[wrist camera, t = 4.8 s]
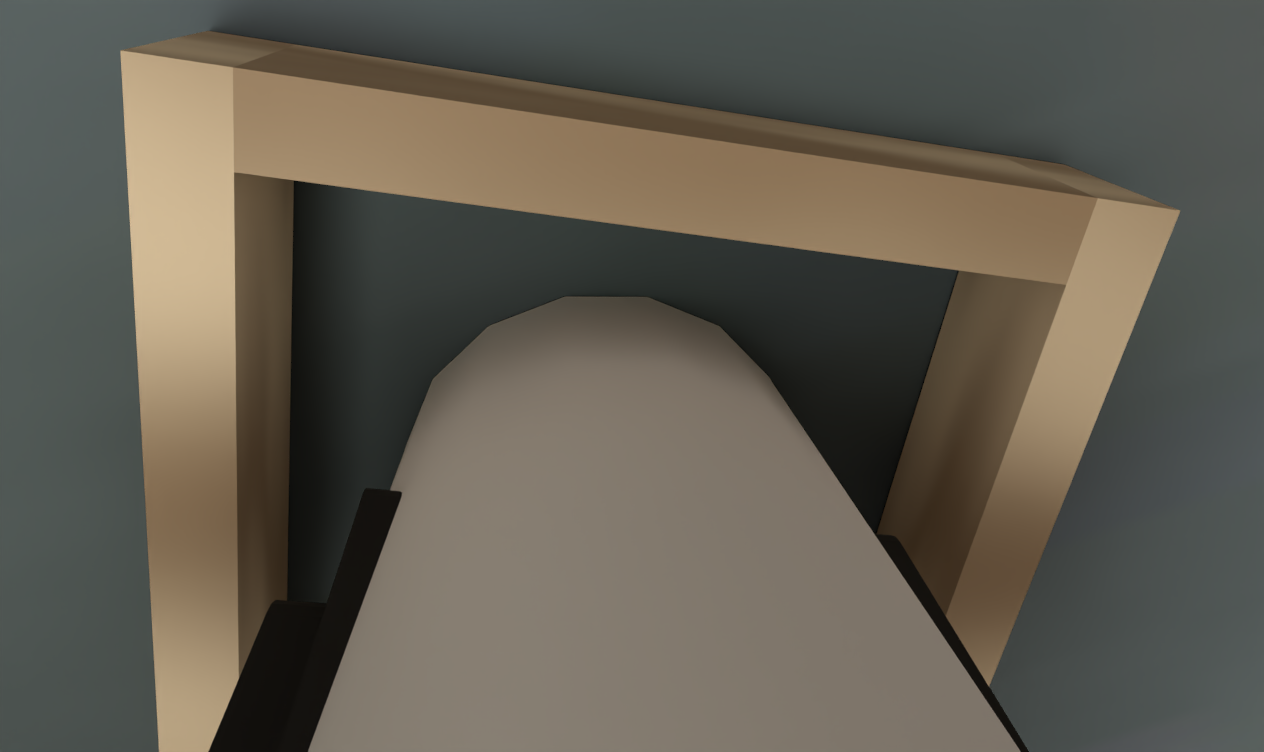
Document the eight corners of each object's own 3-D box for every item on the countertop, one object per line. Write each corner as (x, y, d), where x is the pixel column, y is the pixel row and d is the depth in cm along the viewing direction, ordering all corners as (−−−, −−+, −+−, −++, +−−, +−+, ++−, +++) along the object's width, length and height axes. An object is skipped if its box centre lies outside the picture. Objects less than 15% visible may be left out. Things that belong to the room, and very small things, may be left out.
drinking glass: (275, 423, 13) (-329, 1490, 4) (679, 167, 12) (1099, 803, 3) (540, 714, 16) (543, 1755, 7) (892, 521, 15) (1456, 1434, 6)
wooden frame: (856, 767, 17) (905, 893, 15) (221, 735, 15) (165, 871, 13) (1064, 165, 13) (1179, 211, 10) (207, 30, 11) (120, 51, 9)
